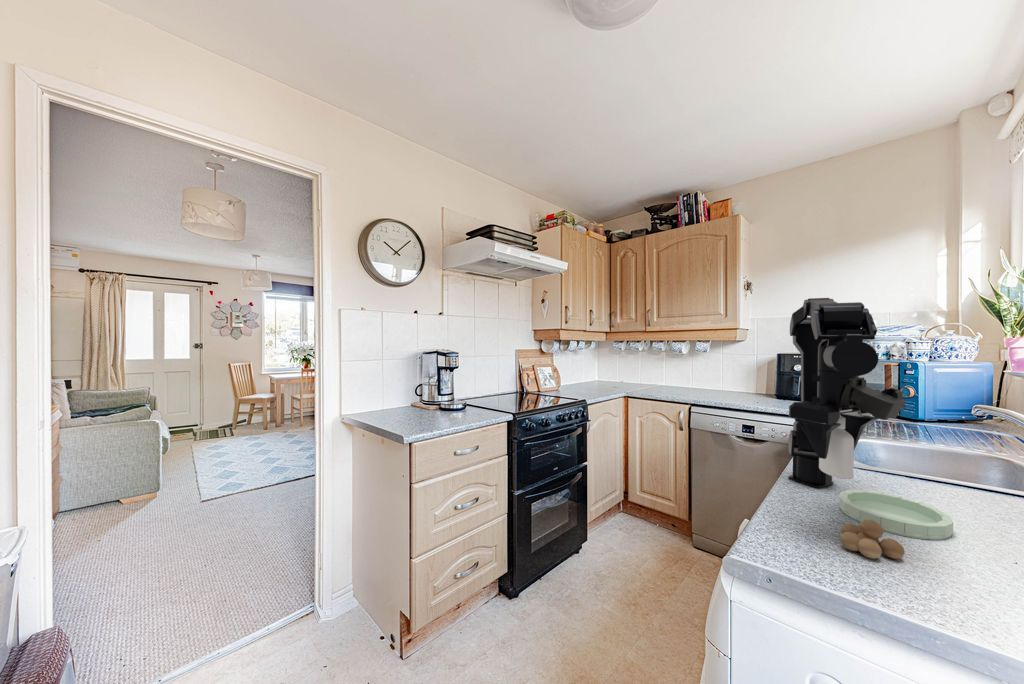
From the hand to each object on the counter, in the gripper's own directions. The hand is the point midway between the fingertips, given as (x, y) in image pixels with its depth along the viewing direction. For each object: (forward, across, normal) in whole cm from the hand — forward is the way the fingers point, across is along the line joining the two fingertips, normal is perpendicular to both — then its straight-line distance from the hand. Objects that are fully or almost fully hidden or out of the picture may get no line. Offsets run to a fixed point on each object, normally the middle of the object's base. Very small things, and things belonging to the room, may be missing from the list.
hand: (836, 455), depth 69 cm
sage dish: (+13, +13, -3) cm, 18 cm away
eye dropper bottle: (+4, 0, 0) cm, 4 cm away
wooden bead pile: (+13, -5, -7) cm, 15 cm away
